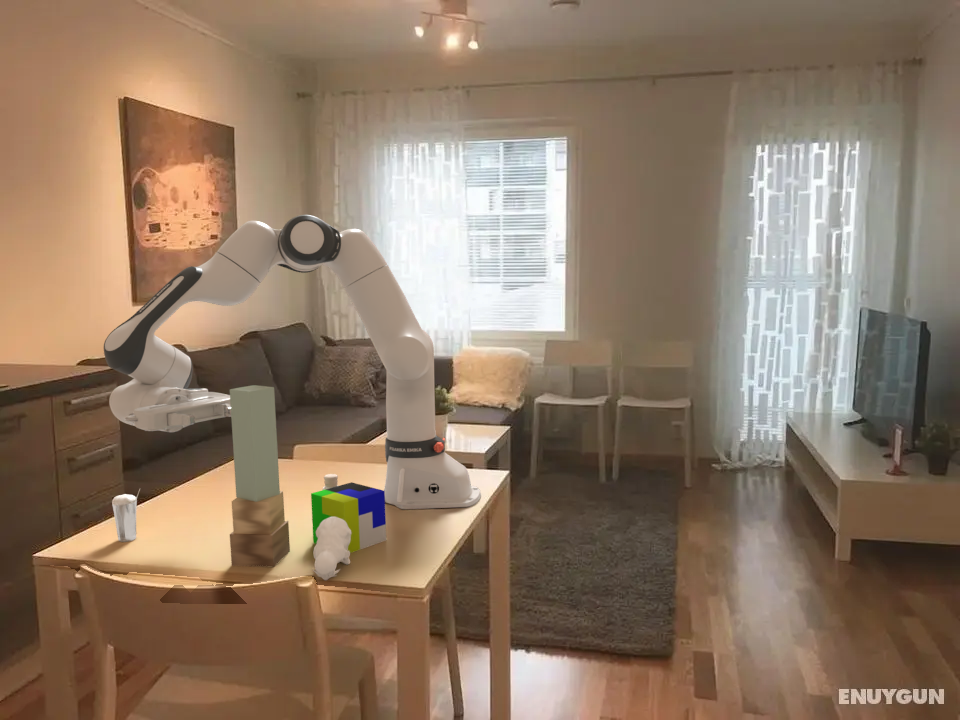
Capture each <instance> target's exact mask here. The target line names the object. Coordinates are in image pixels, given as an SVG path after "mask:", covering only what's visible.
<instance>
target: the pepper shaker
mask: <svg viewBox="0 0 960 720" xmlns="http://www.w3.org/2000/svg"><path fill="white" fill-rule="evenodd" d="M338 478H339V476H338V475H337V474H336V473H328V474H327V473H326V474H325V475H324V476H323V479H324V486H323V487H322V490H325V489H329V488H333V487H336V486H339V485H338V483H339V482H338ZM322 490H321V491H322Z"/></svg>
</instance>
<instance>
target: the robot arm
mask: <svg viewBox="0 0 960 720" xmlns="http://www.w3.org/2000/svg"><path fill="white" fill-rule="evenodd" d="M387 263H388V262H387V261H386V260H385V258H384V256H383V254H382V253H381V252H380V250H379V248H378V247H377V246H376V245H375V244H374V242H373V240H372V239H371V238H370V237H369V236H368V234H366V232H365V231H363V230H361V229H358V228H348V229H345V230H342V231H339V230H338V229H337V228H335V227H333V226H332V225H330V224H329V223H327V222H325V221H324V220H323V219H321V218H319V217H318V216H314V215H310V214H299V215H297V216H294V217H292V218H291V219H289V220H288V221H286V223H285V224H284V226H283V227H282V228H281V229H275V228H272V227H271V226H270V225H268V224H267V223H265V222H263V221H258V220H247V221H246V222H244V223H243V224H242V225H241V226H240V227H238V228H237V229H236V230H235V231H234V232H233V233H232V234H230V236H229V237H228V238H227V239H226V240H225V241H224V242H223V243H222V245H220V247H219V248H218V249H217V251H216V252H215V253H214V255H213V256H211V258H209V259H208V260H207V261H206V262H204V263H201V264H200V265H198V266H191V265H190V266H187V267H186V268H184V269H183V270H181V271H180V272H178V273H177V274H175V276H174V277H172V278H171V279H170V280H169V281H168V282H167V283H166V284H165V285H163V287H161V288H160V289H159V290H158V291H157V292H156V293H155V294H154V295H153V296H152V297H151V298H150V299H149V300H148V301H147V302H145V303H144V304H143V305H142V306H141V307H140V308H139V309H138V310H137V311H136V312H135V313H134V314H133V315H132V316H131V317H129V318H128V319H127V320H125V321H124V322H122V323H121V324H120V325H118V326H117V327H115V328H114V329H113V330H112V331H111V332H110V333H109V334H108V335H107V337H106V338H105V340H104V343H103V354H104V355H103V356H104V358H105V361H106V364H107V366H108V367H109V368H110V369H112V370H115V371H116V372H119V373H121V374H123V375H127V376H128V377H131V378H132V379H131V380H130V381H128V382H127V383H124V384H121V385H119V386H116V387H115V388H114V389H113V390H112V392H111V393H110V395H109V404H108V405H109V407H110V411H111V413H112V415H113V416H114V417H115V418H116V419H118V420H119V421H120V422H122V423H124V424H127V425H130V426H134V427H136V429H139V430H143V431H145V432H155V431H161V432H167V433H175V432H179V431H181V430H183V428H186V427H189V426H191V425H195V424H197V423H200V422H201V423H202V422H206V421H211V420H212V421H213V420H215V419H221V418H226V417H228V418H230V417H231V403H230V394H225V393H221V392H215V391H209V389H208V388H204V387H202V388H201V387H200V388H199V387H198V388H197V387H196V388H189V386H190V384H191V381H192V379H193V369H194V368H193V362H192V359H191V357H190V356H189V355H187V354H186V353H185V352H183V351H182V350H180V349H179V348H178V347H175V346H174V345H172V344H170V343H168V342H166V341H165V340H163V339H161V338H160V337H159V336H157V335H155V333H156V331H157V330H158V329H159V328H160V327H161V326H162V325H163V324H164V323H165V322H167V321H168V319H169V318H171V317H172V315H174V313H176V312H177V310H179V309H180V308H182V306H184V305H187V304H188V303H192V302H203V303H209V304H211V305H217V306H222V307H224V306H225V307H226V306H227V307H228V306H229V307H230V306H236V305H240V304H243V303H244V302H246V301H247V300H249V298H250V297H251V296H252V295H253V294H254V293H255V291H256V290H257V289H258V288H259V286H260V285H261V283H262V282H263V281H264V279H265V278H266V277H267V275H268V274H269V272H271V270H272V269H273V268H274V267H276V266H278V267H279V266H280V267H283V268H285V269H288V270H291V271H293V272H296V273H302V274H304V273H305V274H306V273H310V272H314V271H316V270H317V269H320V268H321V266H325V267H327V268H329V269H330V270H331V271H332V272H333V273H334V274H335V275H336V277H337V278H338V280H339V282H340V285H341V286H342V288H343V289H344V291H345V293H346V294H347V297H348V298H349V300H350V302H351V303H352V305H353V307H354V309H355V310H356V313H357V314H358V315H359V317H360V319H361V322H362V324H363V326H364V328H365V330H366V332H367V334H368V337H369V339H370V340H371V343H372V345H373V347H374V349H375V350H376V353H377V355H378V357H379V359H380V361H381V363H382V364H383V367H384V369H385V370H386V373H385V375H386V384H385V385H386V388H385V389H386V391H385V392H386V395H385V411H386V412H385V413H386V414H385V415H386V437H385V438H384V439H385V443H384V451H385V453H384V456H385V460H386V475H385V484H384V489H383V491H385V503H387V504H389V505H392V506H396V507H397V508H398V509H401V510H419V509H420V510H421V509H441V508H442V509H443V508H445V509H446V508H465V507H467V508H468V507H471V506H473V505H475V504H477V503H478V501H480V498H481V496H482V495H481V490H480V488H479V487H477V486H475V485H472V483H471V477H470V474H469V472H468V471H469V470H468V469H467V467H466V466H465V465H463V464H462V463H460V462H459V461H457V460H456V459H454V458H453V457H452V456H451V455H449V454H448V453H446V452H445V451H446V438H445V437H442V438H441V437H440V436H438V435H437V433H436V432H437V431H436V405H435V404H436V401H435V400H436V399H435V350H434V349H435V348H434V347H435V346H434V342H433V340H432V338H431V336H430V335H429V333H427V331H425V330H424V329H423V328H422V327H421V325H420V323H419V322H418V319H417V317H416V315H415V313H414V311H413V310H412V307H411V305H410V303H409V301H408V300H407V297H406V295H405V293H404V292H403V290H402V288H401V286H400V284H399V282H398V280H397V279H396V277H395V276H394V274H393V272H392V270H391V268H390V267H389V265H388V264H387Z"/></svg>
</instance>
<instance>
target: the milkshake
mask: <svg viewBox="0 0 960 720" xmlns="http://www.w3.org/2000/svg"><path fill="white" fill-rule="evenodd" d="M140 491H141V488H139V490H138V492H137V495H136V496H135V495H133V494H128V493H123V494H120V495H116V496H114V497H113V499H112V501H111V503H112V505H111V506H112V510H113V515H114V521H115V522H114V523H115V526H116V535H117V540H118V542H120V543H127V542H133V541H135V540H136V538H137V506H138V505H137V502H138V500H137V499H138V496H139V493H140Z"/></svg>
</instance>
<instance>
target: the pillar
mask: <svg viewBox="0 0 960 720" xmlns="http://www.w3.org/2000/svg"><path fill="white" fill-rule="evenodd" d="M229 395H230V403H231V430H232V431H231V433H232V445H233V447H232V448H233V451H232V452H233V464H234V465H233V466H234V482H235V497H236V498H242V499H246V500H251V501H255V502H257V501H260V500H264V499H267V498H270V497H273V496H276V495H279V494H280V491H281V490H280V487H281V486H280V472H279V456H278V455H279V454H278V453H279V450H278V436H277V434H278V433H277V417H276V399H275V398H276V397H275V387H274V386H265V385H258V384H257V385H256V384H253V385H248V386H241V387H236V388H231V389H229Z"/></svg>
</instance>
